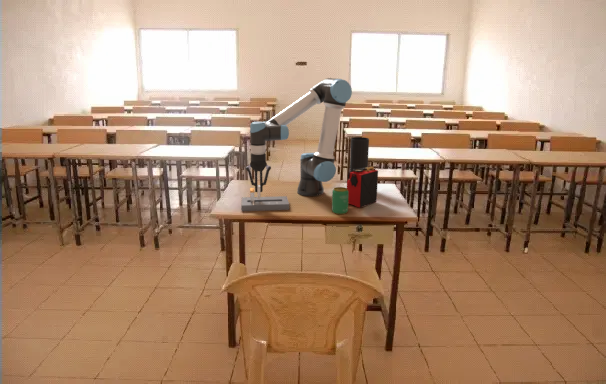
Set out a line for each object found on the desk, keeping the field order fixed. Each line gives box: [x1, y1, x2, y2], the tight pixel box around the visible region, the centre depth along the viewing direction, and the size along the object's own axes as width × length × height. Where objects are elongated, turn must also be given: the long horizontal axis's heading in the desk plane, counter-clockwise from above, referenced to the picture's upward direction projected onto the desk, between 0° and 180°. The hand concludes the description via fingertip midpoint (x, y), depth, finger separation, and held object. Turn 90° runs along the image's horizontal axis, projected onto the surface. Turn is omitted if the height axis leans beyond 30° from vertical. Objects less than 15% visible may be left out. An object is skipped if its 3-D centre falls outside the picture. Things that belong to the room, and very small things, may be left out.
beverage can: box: [331, 186, 349, 215], centre depth 228 cm, size 8×8×12 cm
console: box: [240, 195, 290, 212], centre depth 237 cm, size 24×14×3 cm, turn 97°
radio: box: [346, 166, 379, 209], centre depth 241 cm, size 16×10×20 cm, turn 134°
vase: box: [349, 136, 370, 172], centre depth 266 cm, size 10×10×30 cm
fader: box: [249, 187, 255, 202], centre depth 235 cm, size 2×5×9 cm, turn 7°
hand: (259, 198), depth 236 cm, fingers closed
